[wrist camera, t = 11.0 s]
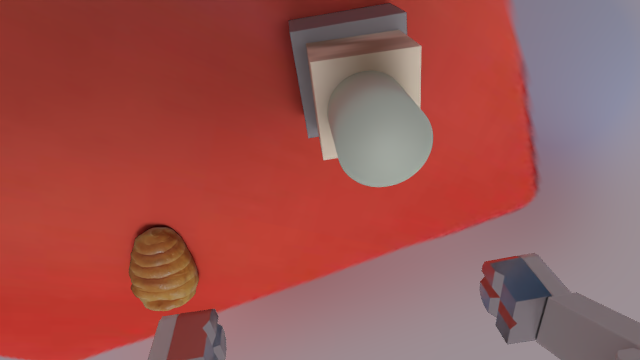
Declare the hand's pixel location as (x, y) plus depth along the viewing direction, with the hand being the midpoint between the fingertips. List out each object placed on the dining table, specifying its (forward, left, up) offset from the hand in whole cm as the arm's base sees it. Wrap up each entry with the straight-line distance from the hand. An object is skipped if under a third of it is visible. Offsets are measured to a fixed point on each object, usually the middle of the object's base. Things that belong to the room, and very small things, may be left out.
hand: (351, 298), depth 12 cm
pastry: (-18, -18, -25) cm, 36 cm away
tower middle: (+3, 0, -20) cm, 20 cm away
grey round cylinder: (+3, 0, -15) cm, 15 cm away
